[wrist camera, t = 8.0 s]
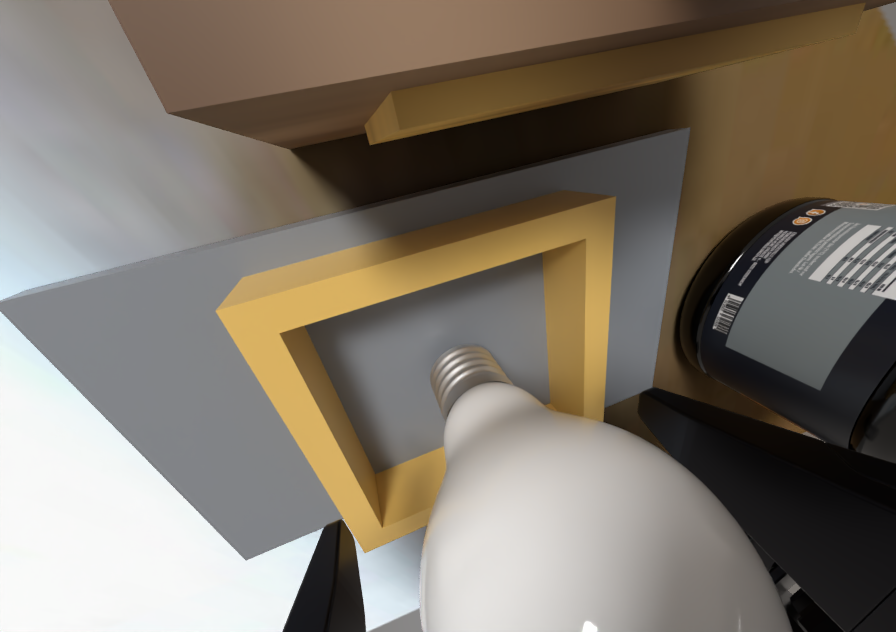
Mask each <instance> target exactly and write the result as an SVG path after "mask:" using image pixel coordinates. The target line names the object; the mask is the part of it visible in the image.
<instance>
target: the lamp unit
mask: <svg viewBox="0 0 896 632" xmlns="http://www.w3.org/2000/svg"><path fill="white" fill-rule="evenodd" d="M108 1H109V3H110V5H111V7H112V9H113V11H114V13H115V15H116V17H117V18H118V20H119V22H120V24H121V26H122V28H123V30H124V32H125V34H126V36H127V38H128V40H129V41H130V43H131V45H132V47H133V49H134V51H135V53H136V55H137V57H138V59H139V61H140V62H141V64H142V66H143V68H144V70H145V72H146V74H147V76H148V78H149V80H150V82H151V83H152V85H153V87H154V89H155V91H156V93H157V95H158V97H159V99H160V101H161V103H162V104H163V106H164V108H165V110H166V112H167V113H168V114H172V115H175V116H178V117H182V118H185V119H189V120H192V121H195V122H199V123H202V124H205V125H209V126H212V127H216V128H219V129H222V130H226V131H229V132H233V133H236V134H239V135H243V136H246V137H250V138H253V139H256V140H260V141H263V142H267V143H270V144H273V145H277V146H280V147H283V148H287V149H293V148H298V147H303V146H308V145H313V144H317V143H322V142H327V141H332V140H336V139H341V138H346V137H351V136H356V135H360V134H365V133H367V137H368V141H369V144H370V145H373V144H378V143H382V142H387V141H392V140H396V139H401V138H406V137H410V136H415V135H419V134H424V133H429V132H433V131H438V130H443V129H447V128H452V127H456V126H461V125H466V124H470V123H475V122H480V121H484V120H489V119H493V118H498V117H503V116H507V115H512V114H517V113H521V112H526V111H530V110H535V109H540V108H544V107H549V106H554V105H558V104H563V103H567V102H572V101H577V100H581V99H586V98H591V97H595V96H600V95H604V94H609V93H614V92H618V91H623V90H628V89H632V88H637V87H641V86H646V85H651V84H655V83H659V82H663V81H667V80H671V79H675V78H679V77H683V76H687V75H691V74H695V73H700V72H704V71H708V70H712V69H716V68H720V67H724V66H728V65H732V64H736V63H740V62H744V61H748V60H752V59H756V58H760V57H764V56H768V55H772V54H776V53H780V52H784V51H788V50H792V49H796V48H800V47H805V46H809V45H813V44H817V43H821V42H825V41H829V40H833V39H837V38H841V37H845V36H849V35H853V34H856V31H857V28H858V25H859V22H860V19H861V16H862V13H863V11H866V10H869V9H873V8H876V7H880V6H883V5H886V4H890V3H894V2H896V0H108Z"/></svg>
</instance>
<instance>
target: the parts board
mask: <svg viewBox="0 0 896 632" xmlns="http://www.w3.org/2000/svg"><path fill="white" fill-rule="evenodd" d="M689 134H690V128H680V129H670V130H664V131H660V132H656V133H652V134H648V135H644V136H640V137H636V138H632V139H628V140H624V141H620V142H616V143H612V144H608V145H604V146H600V147H596V148H592V149H588V150H584V151H580V152H576V153H572V154H568V155H564V156H560V157H556V158H552V159H548V160H544V161H540V162H536V163H532V164H528V165H524V166H520V167H516V168H512V169H508V170H504V171H500V172H496V173H492V174H488V175H484V176H480V177H476V178H472V179H468V180H464V181H460V182H456V183H452V184H448V185H444V186H440V187H436V188H432V189H428V190H424V191H420V192H416V193H412V194H408V195H404V196H400V197H396V198H392V199H388V200H384V201H380V202H376V203H372V204H368V205H364V206H360V207H356V208H352V209H348V210H344V211H340V212H336V213H332V214H328V215H324V216H320V217H316V218H312V219H308V220H304V221H300V222H297V223H293V224H289V225H285V226H281V227H277V228H273V229H269V230H265V231H261V232H257V233H253V234H249V235H245V236H241V237H237V238H233V239H229V240H225V241H221V242H217V243H213V244H209V245H205V246H201V247H197V248H193V249H189V250H185V251H181V252H177V253H173V254H169V255H165V256H161V257H157V258H153V259H149V260H145V261H141V262H137V263H133V264H129V265H125V266H121V267H117V268H113V269H109V270H105V271H101V272H97V273H93V274H89V275H85V276H81V277H77V278H73V279H69V280H65V281H61V282H57V283H53V284H49V285H45V286H41V287H37V288H33V289H29V290H25V291H23V292H20V293H18V294H15V295H13V296H11V297H8V298H6V299H3V300H1V301H0V311H1V312H2V313H3V314H4V315H5V316H6V317H7V318H8V319H9V320H10V321H11V323H12V324H13V325H14V326H15V327H16V328H17V329H18V330H19V331H20V332H21V333H22V334H23V335H24V336H25V337H26V338H27V339H28V340H29V341H30V342H31V343H32V344H33V345H34V346H35V347H36V348H37V349H38V350H39V351H40V352H41V353H42V354H43V355H44V356H45V357H46V358H47V359H48V360H49V361H50V362H51V363H52V364H53V365H54V366H55V367H56V368H57V369H58V370H59V371H60V372H61V373H62V374H63V375H64V376H65V377H66V378H67V379H68V380H69V381H70V382H71V383H72V384H73V385H74V386H75V387H76V388H77V389H78V390H79V391H80V393H81V394H82V395H83V396H84V397H85V398H86V399H87V400H88V401H89V402H90V403H91V404H92V405H93V406H94V407H95V408H96V409H97V410H98V411H99V412H100V413H101V414H102V415H103V416H104V417H105V418H106V419H107V420H108V421H109V422H110V423H111V424H112V425H113V426H114V427H115V428H116V429H117V430H118V431H119V432H120V433H121V434H122V435H123V436H124V437H125V438H126V439H127V440H128V441H129V442H130V443H131V444H132V445H133V446H134V447H135V448H136V449H137V450H138V451H139V452H140V453H141V454H142V455H143V456H144V457H145V458H146V459H147V460H148V462H149V463H150V464H151V465H152V466H153V467H154V468H155V469H156V470H157V471H158V472H159V473H160V474H161V475H162V476H163V477H164V478H165V479H166V480H167V481H168V482H169V483H170V484H171V485H172V486H173V487H174V488H175V489H176V490H177V491H178V492H179V493H180V494H181V495H182V496H183V497H184V498H185V499H186V500H187V501H188V502H189V503H190V504H191V505H192V506H193V507H194V508H195V509H196V510H197V511H198V512H199V513H200V514H201V515H202V516H203V517H204V518H205V519H206V520H207V521H208V522H209V523H210V524H211V525H212V526H213V527H214V528H215V529H216V531H217V532H218V533H219V534H220V535H221V536H222V537H223V538H224V539H225V540H226V541H227V542H228V543H229V544H230V545H231V546H232V547H233V548H234V549H235V550H236V551H237V552H238V553H239V554H240V555H241V556H242V557H243V558H244V559H245V560H248V559H251V558H253V557H255V556H258V555H260V554H262V553H265V552H267V551H269V550H272V549H274V548H276V547H279V546H281V545H284V544H286V543H288V542H291V541H293V540H295V539H298V538H300V537H302V536H305V535H307V534H309V533H312V532H314V531H316V530H319V529H321V528H324V527H325V526H326V525H327V524H329V523H331V522H334V521H336V520H339V519H344V520H345V522H346V523H347V525H348V527H349V528H350V530H351V531H352V533H353V535H354V536H355V538H356V539H357V541H358V543H359V544H360V546H361V548H362V549H363V551H364V552H365V553H366V552H369V551H371V550H373V549H375V548H378V547H380V546H382V545H384V544H386V543H389V542H391V541H393V540H395V539H398V538H400V537H402V536H404V535H406V534H409V533H411V532H413V531H415V530H418V529H420V528H422V527H424V526H426V525H427V524H428V521H429V517H430V514H431V510H432V507H433V504H434V501H435V498H436V496H437V493H438V490H439V487H440V485H441V482H442V479H443V476H444V473H445V466H446V463H445V453H444V442H443V437H444V428H445V422H444V419H443V416H442V414H441V410H440V408H439V406H438V402H437V400H436V398H435V395H434V393H433V390H432V387H431V384H430V373H431V369H432V367H433V365H434V363H435V362H436V360H437V359H438V358H439V357H440V356H441V355H442V354H443V353H445V352H446V351H447V350H449V349H451V348H453V347H456V346H459V345H463V344H475V345H479V346H481V347H483V348H485V349H486V350H487V351H489V353H490V354H491V355H492V357H493V358H494V360H495V361H496V362H497V364H498V365H499V366H500V367H501V369H502V371H503V372H504V373H505V374H506V376H507V378H508V379H509V380H510V381H511V382H512V383H513V385H515V386H517V387H520V388H522V389H524V390H525V391H527V392H529V393H530V394H531V395H533V396H534V397H535V398H536V399H538V400H539V401H540V402H541V403H543V404H544V405H545V406H547V407H548V408H550V409H553V410H556V411H560V412H565V413H569V414H574V415H579V416H583V417H587V418H591V419H595V420H599V421H602V422H603V419H604V408H606V407H608V406H611V405H613V404H615V403H618V402H620V401H622V400H625V399H627V398H629V397H632V396H634V395H636V394H639V393H641V392H642V391H644V390H646V389H649V388H652V384H653V377H654V371H655V364H656V357H657V350H658V344H659V337H660V330H661V323H662V317H663V310H664V303H665V296H666V290H667V283H668V276H669V269H670V263H671V256H672V249H673V242H674V236H675V229H676V222H677V215H678V209H679V202H680V195H681V188H682V182H683V175H684V168H685V161H686V155H687V148H688V141H689Z"/></svg>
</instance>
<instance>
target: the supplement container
mask: <svg viewBox="0 0 896 632" xmlns="http://www.w3.org/2000/svg"><path fill="white" fill-rule="evenodd" d="M680 343H681V347H682V350H683V353H684V355H685V357H686V358H687V360H688V361H689V362H690V364H691V365H692V366H693V367H694V368H695V369H697V370H698V371H699V372H701V373H702V374H704V375H706V376H707V377H709V378H711V379H714V380H717V381H719V382H721V383H723V384H724V385H726V386H728V387H730V388H731V389H733V390H735V391H737V392H738V393H740V394H742V395H744V396H745V397H747V398H749V399H751V400H752V401H754V402H756V403H758V404H759V405H761V406H763V407H765V408H766V409H768V410H770V411H772V412H774V413H775V414H777V415H779V416H781V417H782V418H784V419H786V420H788V421H789V422H791V423H793V424H795V425H796V426H798V427H800V428H802V429H803V430H805V431H807V432H809V433H810V434H812V435H814V436H816V437H818V438H819V439H821V440H823V441H824V442H828V443H831V444H834V445H837V446H841V447H844V448H847V449H850V450H853V451H857V452H860V453H863V454H866V455H870V456H873V457H876V458H879V459H883V460H886V461H890V462H893V463H896V205H888V204H875V203H862V202H849V201H837V200H835V199H830V198H820V197H805V198H797V199H791V200H787V201H784V202H780V203H777V204H775V205H772V206H770V207H768V208H766V209H764V210H762V211H760V212H758V213H757V214H755V215H753V216H752V217H750V218H749V219H747V220H746V221H745V222H743V223H742V224H741V225H740V226H738V227H737V228H736V229H735V230H734V231H733V232H731V233H730V234H729V235H728V236H727V237H726V238H725V239H724V240H723V241H722V242H721V243H720V244H719V245H718V246H717V247H716V249H715V250H714V251H713V252H712V253H711V255H710V256H709V257H708V259H707V260H706V261H705V263H704V264H703V266H702V267H701V269H700V270H699V272H698V274H697V275H696V277H695V279H694V281H693V283H692V285H691V287H690V289H689V291H688V294H687V296H686V299H685V302H684V305H683V309H682V313H681V319H680Z"/></svg>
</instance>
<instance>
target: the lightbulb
mask: <svg viewBox="0 0 896 632" xmlns="http://www.w3.org/2000/svg"><path fill="white" fill-rule="evenodd" d="M430 384H431V387H432V390H433V393H434V395H435V398H436V400H437V402H438V406H439V408H440V410H441V414H442V416H443V419H444V422H445V428H444V437H443V442H444V453H445V463H446V466H445V473H444V476H443V479H442V482H441V485H440V487H439V490H438V493H437V496H436V498H435V501H434V504H433V507H432V510H431V514H430V517H429V521H428V524H427V528H426V533H425V537H424V542H423V548H422V555H421V564H420V578H419V602H420V616H421V626H422V632H793V629H792V626H791V623H790V620H789V617H788V615H787V612H786V609H785V607H784V604H783V602H782V599H781V597H780V595H779V592H778V590H777V588H776V586H775V584H774V582H773V580H772V578H771V576H770V574H769V572H768V570H767V568H766V566H765V564H764V562H763V561H762V559H761V557H760V555H759V554H758V552H757V550H756V549H755V547H754V545H753V544H752V542H751V541H750V539H749V538H748V536H747V535H746V533H745V532H744V530H743V529H742V528H741V526H740V525H739V524H738V522H737V521H736V520H735V518H734V517H733V516H732V514H731V513H730V512H729V511H728V509H727V508H726V507H725V506H724V505H723V504H722V502H721V501H720V500H719V499H718V498H717V497H716V496H715V495H714V494H713V492H712V491H711V490H710V489H709V488H708V487H707V486H706V485H705V484H704V483H703V482H702V481H700V480H699V479H698V478H697V477H696V476H695V475H694V474H693V473H692V472H690V471H689V470H688V469H687V468H686V467H684V466H683V465H682V464H681V463H680V462H678V461H677V460H675V459H674V458H673V457H671V456H670V455H669V454H667V453H666V452H664V451H663V450H661V449H660V448H658V447H657V446H655V445H653V444H652V443H650V442H648V441H647V440H645V439H643V438H641V437H639V436H637V435H635V434H633V433H631V432H629V431H626V430H624V429H622V428H619V427H617V426H614V425H611V424H608V423H605V422H602V421H599V420H595V419H591V418H587V417H583V416H579V415H574V414H569V413H565V412H560V411H556V410H553V409H550V408H548V407H547V406H545V405H544V404H543V403H541V402H540V401H539V400H538V399H536V398H535V397H534V396H533V395H531V394H530V393H529V392H527V391H525V390H524V389H522V388H520V387H517V386H515V385H513V383H512V382H511V381H510V380H509V379H508V378H507V376H506V374H505V373H504V372H503V371H502V369H501V367H500V366H499V365H498V364H497V362H496V361H495V360H494V358H493V357H492V355H491V354H490V353H489V351H487V350H486V349H485V348H483V347H481V346H479V345H475V344H463V345H459V346H456V347H453V348H451V349H449V350H447V351H446V352H445V353H443V354H442V355H441V356H440V357H439V358H438V359H437V360H436V362H435V363H434V365H433V367H432V369H431V373H430Z"/></svg>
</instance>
